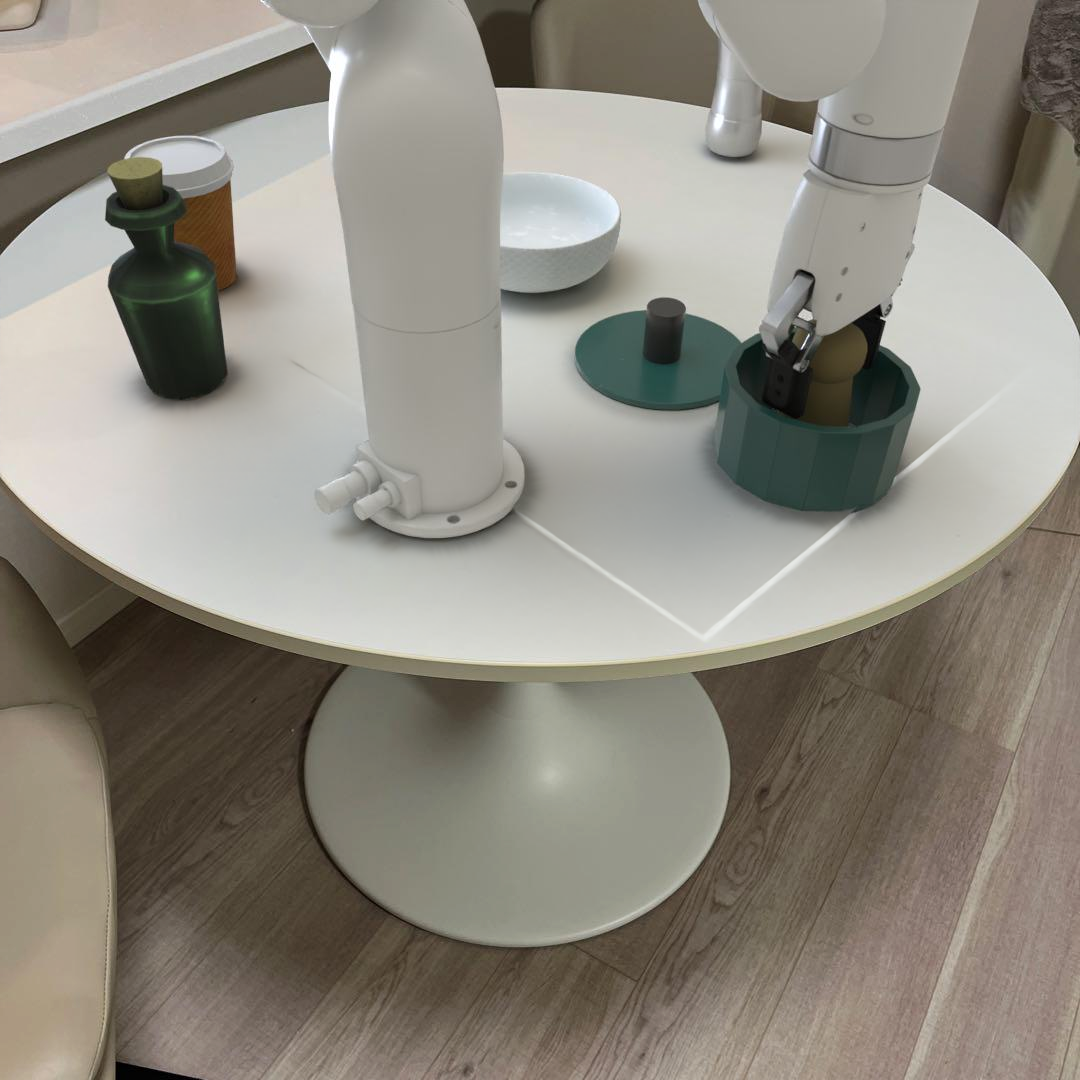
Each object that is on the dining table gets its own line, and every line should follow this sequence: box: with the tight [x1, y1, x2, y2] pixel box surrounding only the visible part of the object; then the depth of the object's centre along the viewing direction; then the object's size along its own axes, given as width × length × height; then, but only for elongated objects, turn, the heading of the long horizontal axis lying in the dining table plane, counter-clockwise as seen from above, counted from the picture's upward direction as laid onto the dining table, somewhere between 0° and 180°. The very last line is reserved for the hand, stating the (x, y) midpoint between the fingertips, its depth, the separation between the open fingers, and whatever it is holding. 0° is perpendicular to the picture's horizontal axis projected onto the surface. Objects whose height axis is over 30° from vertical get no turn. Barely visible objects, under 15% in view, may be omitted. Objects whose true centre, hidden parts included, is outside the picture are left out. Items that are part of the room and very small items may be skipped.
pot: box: [712, 327, 922, 514], centre depth 78 cm, size 14×14×8 cm
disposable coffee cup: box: [123, 135, 238, 292], centre depth 96 cm, size 10×10×12 cm
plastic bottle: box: [704, 36, 764, 158], centre depth 118 cm, size 6×7×20 cm
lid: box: [574, 296, 742, 411], centre depth 88 cm, size 15×15×6 cm
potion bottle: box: [104, 157, 228, 400], centre depth 82 cm, size 8×8×18 cm
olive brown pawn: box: [777, 318, 867, 426], centre depth 77 cm, size 6×6×11 cm
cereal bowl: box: [500, 171, 622, 294], centre depth 99 cm, size 17×17×7 cm
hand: (818, 383), depth 76 cm, fingers open, 8 cm apart
